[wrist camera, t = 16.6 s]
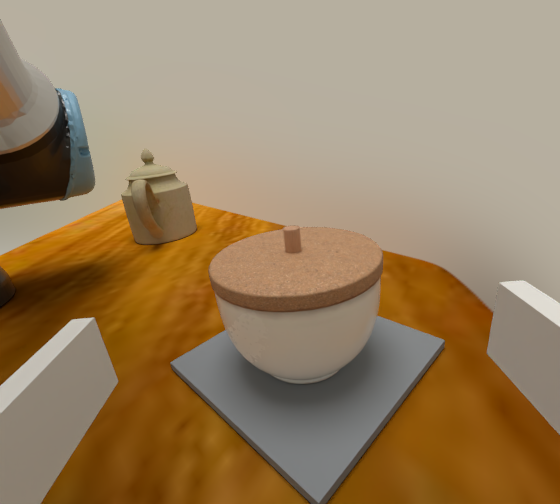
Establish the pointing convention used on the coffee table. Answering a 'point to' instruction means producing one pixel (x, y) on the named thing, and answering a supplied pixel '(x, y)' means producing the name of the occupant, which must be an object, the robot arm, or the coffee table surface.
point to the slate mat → (312, 403)
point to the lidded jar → (299, 299)
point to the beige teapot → (158, 204)
